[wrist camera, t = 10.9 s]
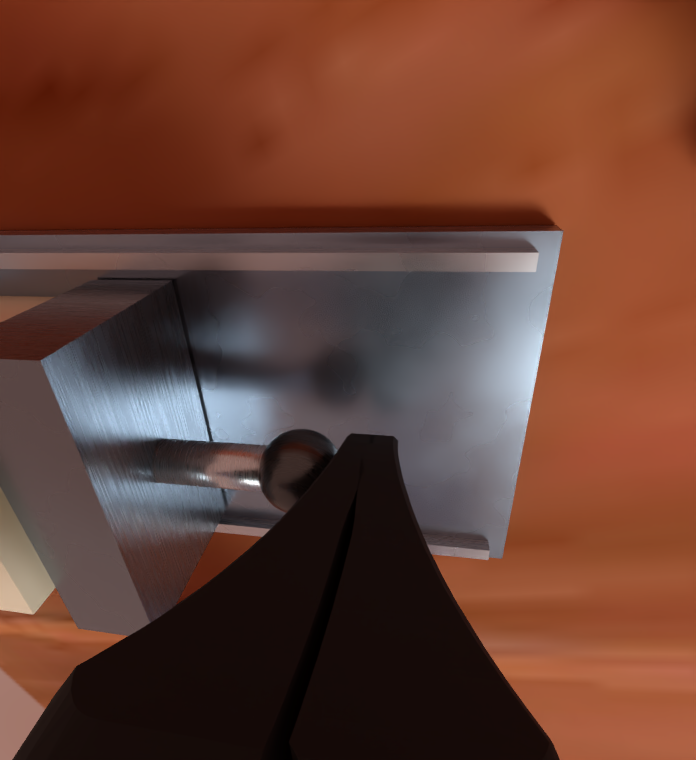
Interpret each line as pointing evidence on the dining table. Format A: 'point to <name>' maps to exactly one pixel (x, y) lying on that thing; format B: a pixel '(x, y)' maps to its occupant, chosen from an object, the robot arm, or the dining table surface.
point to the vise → (346, 345)
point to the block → (5, 533)
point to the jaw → (123, 451)
